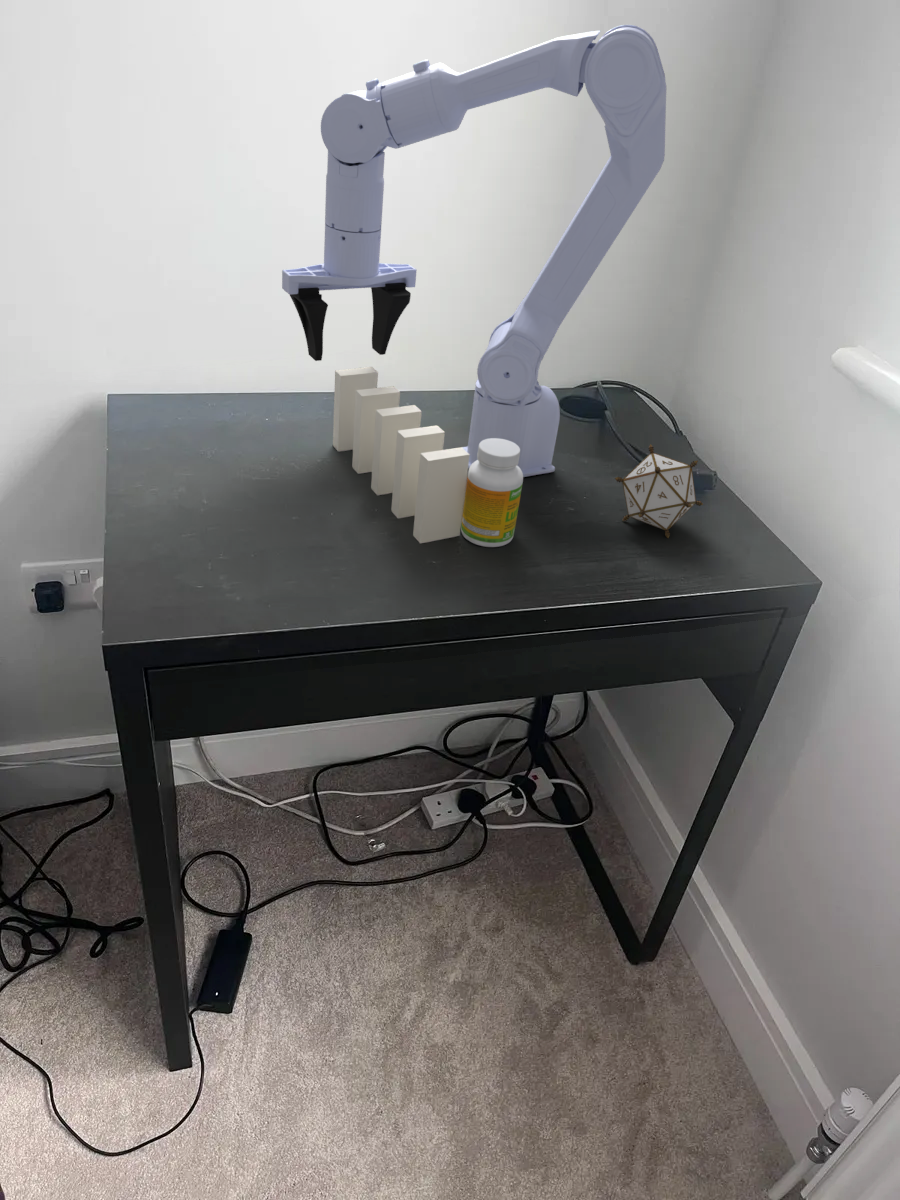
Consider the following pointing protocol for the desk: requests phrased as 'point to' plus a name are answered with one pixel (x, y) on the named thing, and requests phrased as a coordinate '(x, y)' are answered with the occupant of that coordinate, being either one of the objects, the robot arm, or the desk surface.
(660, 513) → the game die
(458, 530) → the domino
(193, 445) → the desk surface
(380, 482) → the domino
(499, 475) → the supplement bottle
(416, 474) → the domino
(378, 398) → the domino
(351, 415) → the domino
